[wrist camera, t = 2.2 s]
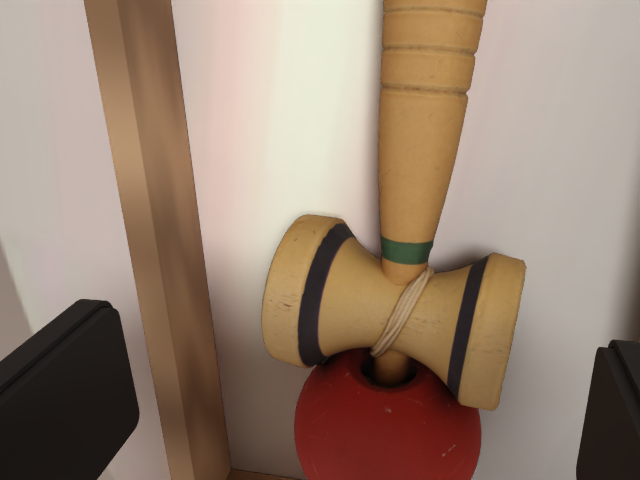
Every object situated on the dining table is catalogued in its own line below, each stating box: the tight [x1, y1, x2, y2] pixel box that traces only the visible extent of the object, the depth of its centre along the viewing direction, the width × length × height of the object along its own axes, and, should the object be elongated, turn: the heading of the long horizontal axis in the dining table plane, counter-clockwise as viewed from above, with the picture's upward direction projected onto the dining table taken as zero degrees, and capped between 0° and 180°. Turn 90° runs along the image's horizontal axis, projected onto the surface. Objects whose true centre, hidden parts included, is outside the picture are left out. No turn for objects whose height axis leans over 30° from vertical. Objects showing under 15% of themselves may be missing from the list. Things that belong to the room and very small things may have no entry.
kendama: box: [261, 0, 526, 480], centre depth 16 cm, size 8×6×18 cm
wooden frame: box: [84, 0, 640, 480], centre depth 17 cm, size 25×17×3 cm
